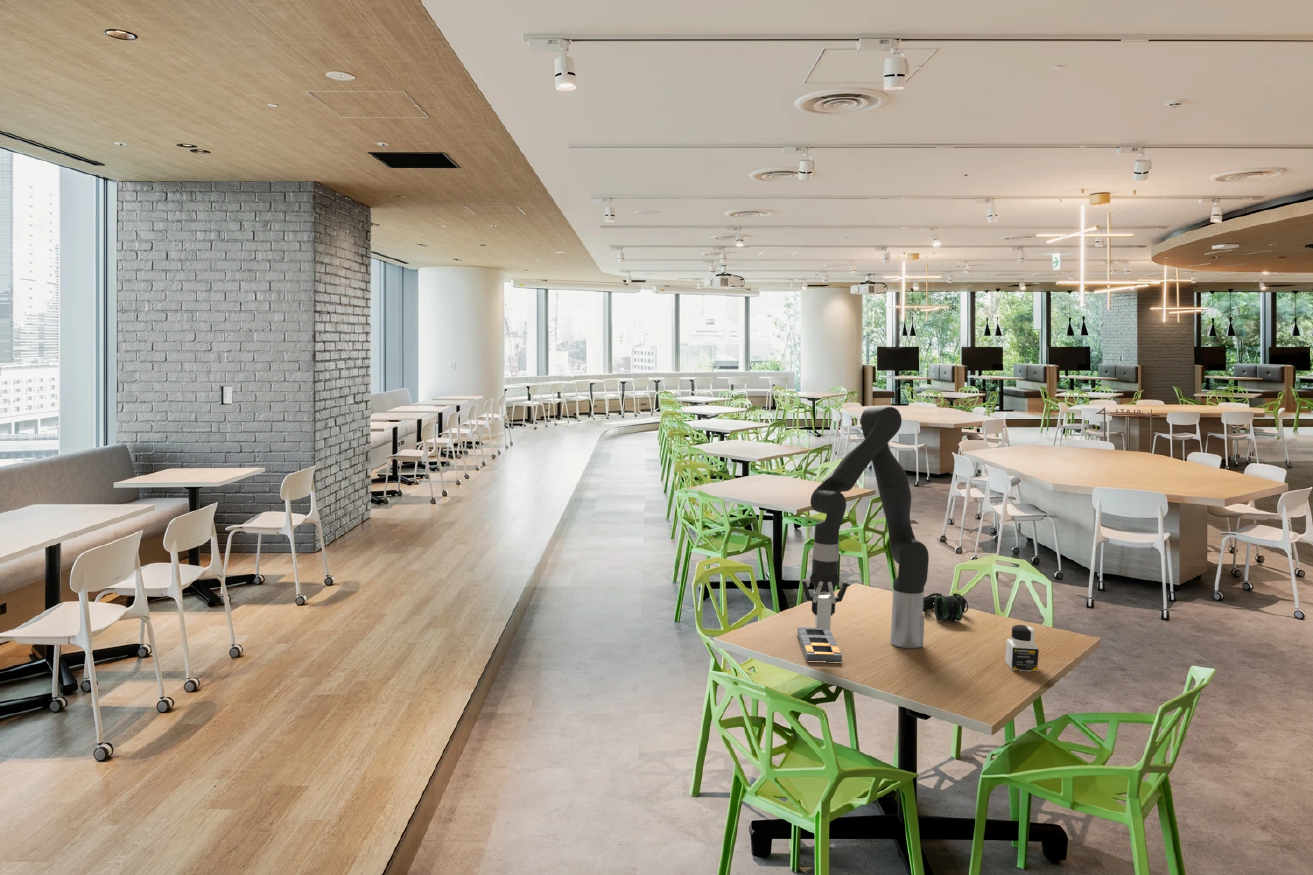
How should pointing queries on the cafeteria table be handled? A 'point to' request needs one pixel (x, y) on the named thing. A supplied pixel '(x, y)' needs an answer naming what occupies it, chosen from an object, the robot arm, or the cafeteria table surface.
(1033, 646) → the medicine bottle
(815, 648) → the slotted rack
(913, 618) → the robot arm
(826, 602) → the steel block
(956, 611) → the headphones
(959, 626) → the cafeteria table surface
